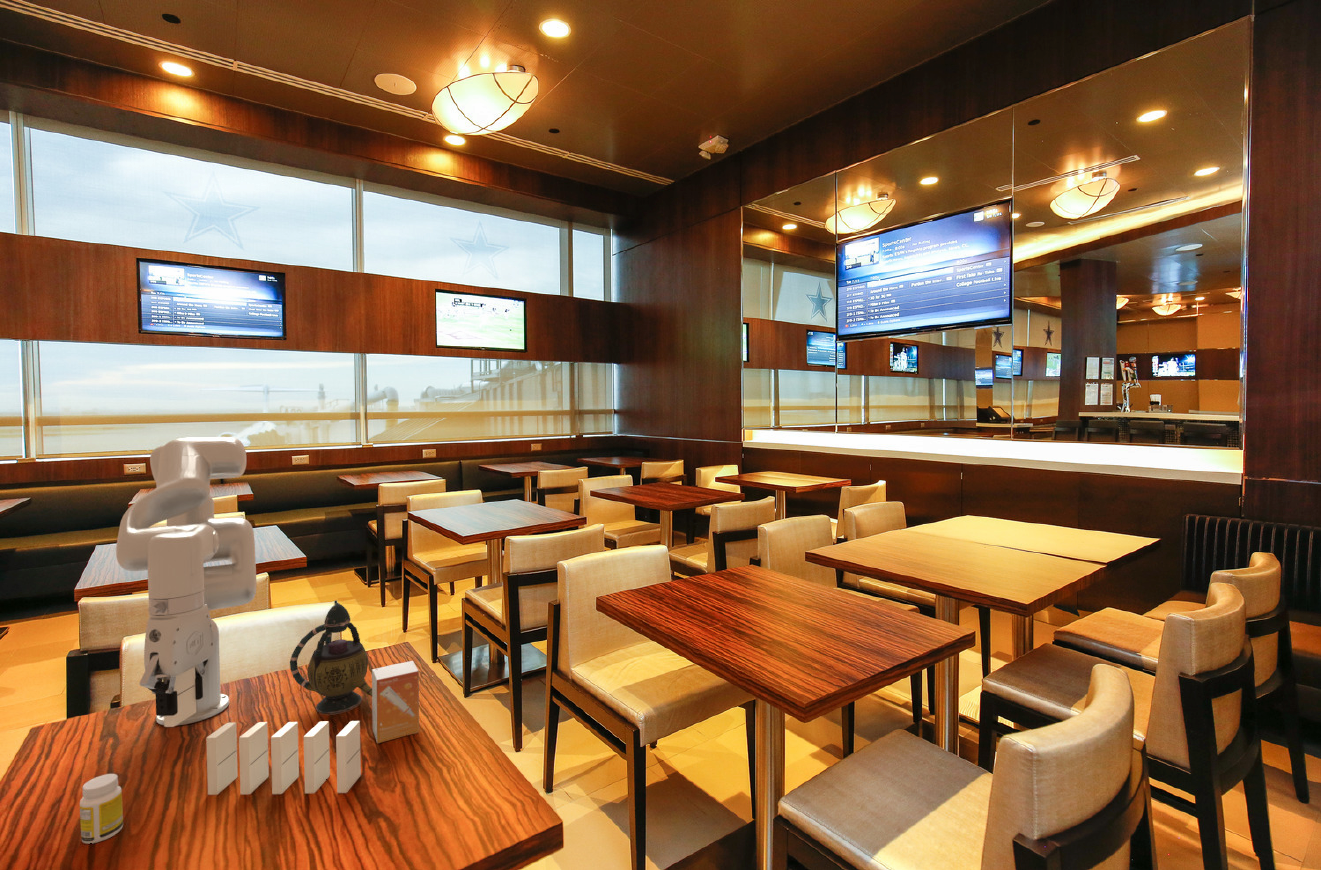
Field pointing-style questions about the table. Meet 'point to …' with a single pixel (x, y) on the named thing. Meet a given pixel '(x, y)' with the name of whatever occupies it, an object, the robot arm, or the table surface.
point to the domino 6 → (348, 756)
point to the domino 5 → (316, 756)
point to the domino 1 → (183, 697)
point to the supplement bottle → (101, 809)
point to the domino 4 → (284, 757)
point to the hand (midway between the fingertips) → (180, 705)
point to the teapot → (334, 665)
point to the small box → (395, 701)
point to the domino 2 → (221, 758)
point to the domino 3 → (253, 757)
